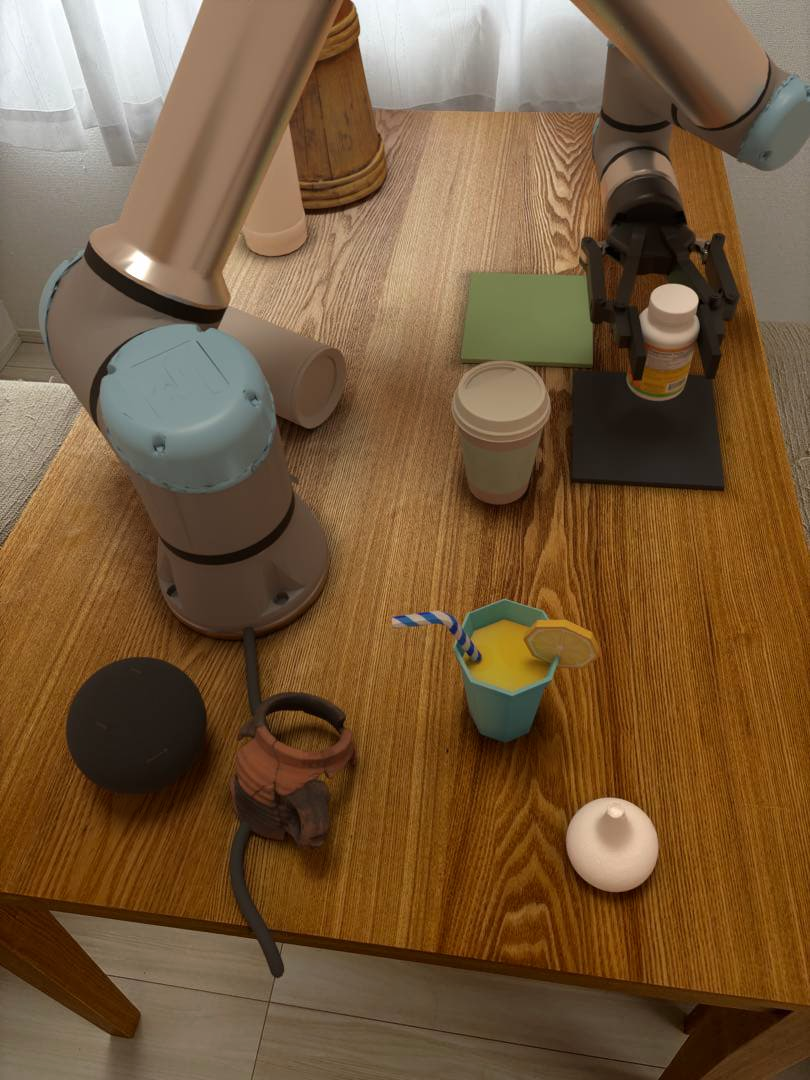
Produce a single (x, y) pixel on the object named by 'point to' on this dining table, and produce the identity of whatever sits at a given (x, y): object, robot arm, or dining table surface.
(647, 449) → the charcoal mat
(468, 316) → the sage mat
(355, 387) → the dining table surface
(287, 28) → the robot arm
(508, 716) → the cup
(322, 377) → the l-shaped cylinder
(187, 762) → the speaker
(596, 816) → the garlic bulb
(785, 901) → the dining table surface
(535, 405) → the coffee cup
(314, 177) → the tankard
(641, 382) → the supplement bottle
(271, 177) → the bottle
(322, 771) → the broken clay pot
